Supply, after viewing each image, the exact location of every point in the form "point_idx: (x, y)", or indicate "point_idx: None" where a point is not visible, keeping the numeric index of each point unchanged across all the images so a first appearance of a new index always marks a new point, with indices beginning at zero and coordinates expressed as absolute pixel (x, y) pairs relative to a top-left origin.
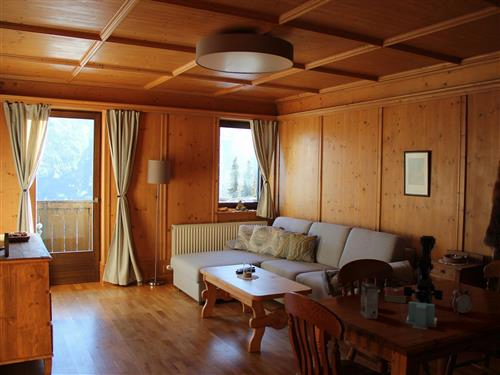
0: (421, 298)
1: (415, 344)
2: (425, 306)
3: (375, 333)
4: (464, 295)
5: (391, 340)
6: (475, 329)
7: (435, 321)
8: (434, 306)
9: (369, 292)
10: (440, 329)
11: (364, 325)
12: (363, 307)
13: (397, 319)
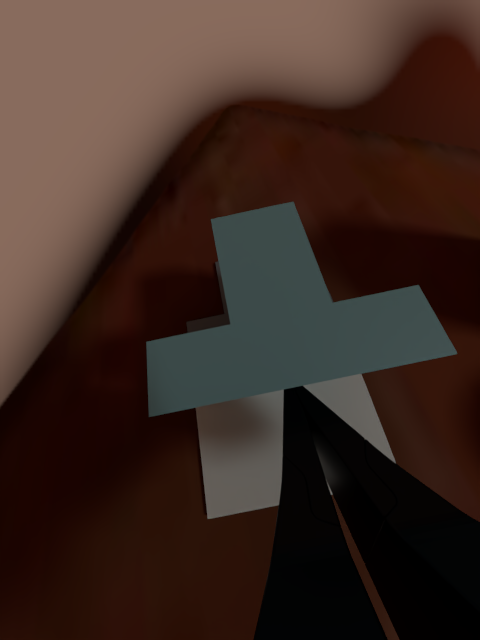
0: (360, 484)
1: (215, 132)
2: (224, 267)
3: (354, 133)
4: None
5: (284, 119)
6: (4, 423)
7: (203, 422)
8: (149, 343)
9: None
10: (165, 310)
11: (440, 169)
12: None
13: None
